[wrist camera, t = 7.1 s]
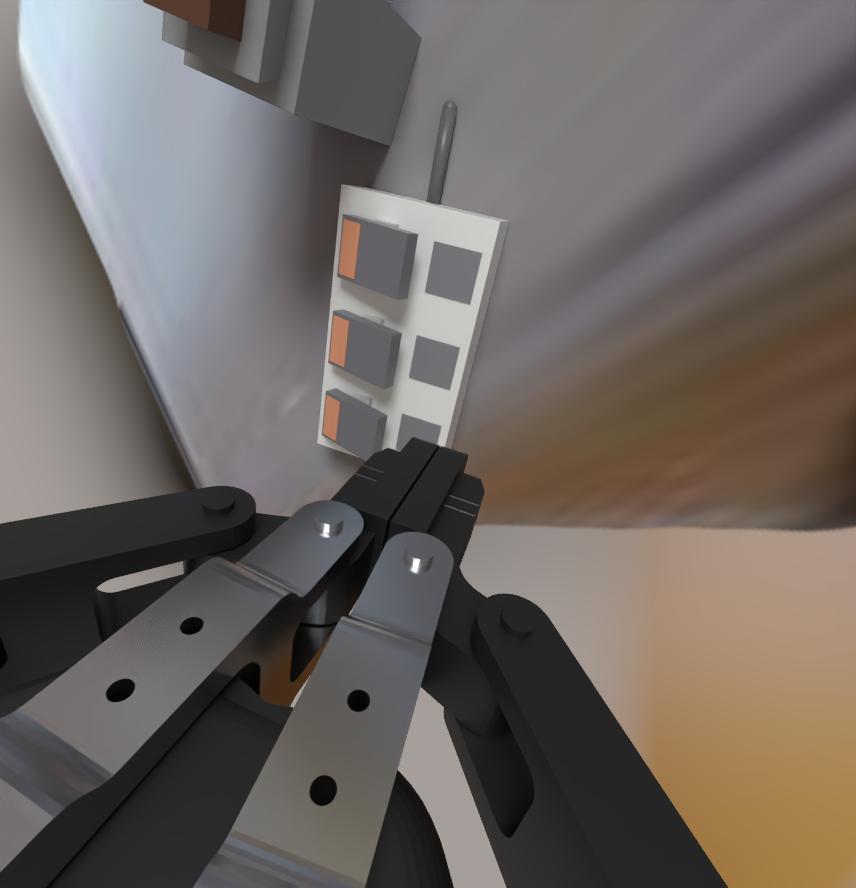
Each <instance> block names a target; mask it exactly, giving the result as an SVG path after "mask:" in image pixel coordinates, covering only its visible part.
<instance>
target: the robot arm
mask: <svg viewBox="0 0 856 888" xmlns="http://www.w3.org/2000/svg"><path fill="white" fill-rule="evenodd" d="M467 458H468V454H465V453H462V452H459V451H456V450H453V449H450V448H447V447H444V446H440V445H437V444H434V443H431V442H428V441H425V440H422V439H419V438H416V437H412V438H411V439H410V440H409V442H408V443H407V444H406V445H405V446H404V448H403V449H402V450H401V451H397V450H394V449H391V448H386V449H384V450H381V451H379V452H376V453H374V454H372V456H371V457H370V458H369V459H368V460H367V461H366V462H365V463H364V465H363V466H361V467H360V469H359V470H358V471H357V472H356V474H354V475H353V476H352V477H351V478H350V479H349V480H348V482H347V483H346V484H345V485H344V486H343V487H342V488H341V489H340V490H339V491H338V492H337V493H336V495H335V496H334V497H333V498H332V499H331V500H330V501H317V502H313V503H310V504H307V505H305V506H304V507H302V508H301V509H300V510H298V511H297V512H296V513H295V514H294V515H292V516H291V517H284V516H275V515H268V514H260V513H256V503H255V500H254V498H253V497H252V496H251V495H250V494H249V493H247V492H246V491H244V490H242V489H239V488H235V487H230V486H213V487H207V488H201V489H195V490H190V491H184V492H178V493H173V494H167V495H161V496H155V497H150V498H144V499H138V500H133V501H127V502H121V503H116V504H110V505H104V506H99V507H93V508H87V509H81V510H76V511H70V512H65V513H59V514H53V515H47V516H42V517H36V518H30V519H25V520H19V521H13V522H7V523H2V524H0V888H454V887H453V883H452V880H451V876H450V872H449V869H448V865H447V861H446V858H445V854H444V851H443V848H442V844H441V841H440V838H439V836H438V833H437V831H436V829H435V826H434V824H433V821H432V818H431V817H430V815H429V813H428V811H427V809H426V807H425V805H424V803H423V801H422V800H421V798H420V797H419V795H418V794H417V793H416V791H415V790H414V788H413V787H412V785H411V784H410V783H409V782H408V781H407V780H406V779H405V777H404V776H403V775H402V774H401V773H400V772H399V771H398V766H399V763H400V759H401V755H402V752H403V748H404V744H405V741H406V737H407V734H408V730H409V726H410V723H411V719H412V715H413V712H414V708H415V705H416V701H417V697H418V694H419V690H420V687H422V688H423V689H424V690H425V691H426V692H427V693H428V694H430V695H431V696H432V697H433V698H434V699H435V700H436V701H438V702H439V703H440V704H441V705H442V706H443V707H444V719H445V723H446V726H447V729H448V731H449V734H450V737H451V739H452V742H453V745H454V747H455V750H456V752H457V756H458V758H459V761H460V763H461V766H462V769H463V772H464V774H465V777H466V780H467V782H468V785H469V788H470V790H471V793H472V796H473V798H474V801H475V804H476V807H477V809H478V812H479V815H480V817H481V820H482V823H483V825H484V828H485V831H486V833H487V836H488V839H489V841H490V844H491V847H492V849H493V852H494V855H495V858H496V860H497V863H498V865H499V868H500V871H501V874H502V876H503V879H504V882H505V884H506V887H507V888H728V887H727V885H726V884H725V882H724V881H723V879H722V878H721V876H720V875H719V873H718V872H717V870H716V869H715V867H714V866H713V864H712V863H711V861H710V860H709V858H708V857H707V855H706V854H705V852H704V851H703V849H702V848H701V846H700V845H699V843H698V842H697V840H696V839H695V837H694V836H693V834H692V832H691V831H690V829H689V828H688V826H687V825H686V823H685V822H684V820H683V819H682V818H681V816H680V815H679V813H678V811H677V810H676V809H675V807H674V805H673V804H672V802H671V801H670V799H669V798H668V796H667V795H666V793H665V792H664V791H663V789H662V787H661V786H660V784H659V783H658V781H657V780H656V779H655V777H654V775H653V774H652V772H651V771H650V769H649V768H648V766H647V765H646V763H645V762H644V761H643V759H642V757H641V756H640V754H639V753H638V751H637V750H636V748H635V747H634V745H633V744H632V742H631V741H630V739H629V738H628V736H627V735H626V733H625V732H624V730H623V729H622V727H621V726H620V724H619V723H618V722H617V720H616V718H615V717H614V715H613V714H612V712H611V711H610V709H609V708H608V706H607V705H606V704H605V702H604V700H603V699H602V697H601V696H600V694H599V693H598V691H597V690H596V688H595V687H594V685H593V684H592V682H591V681H590V679H589V678H588V676H587V675H586V673H585V672H584V670H583V669H582V667H581V666H580V664H579V663H578V661H577V660H576V658H575V657H574V655H573V654H572V652H571V651H570V649H569V648H568V646H567V645H566V643H565V642H564V640H563V639H562V637H561V636H560V634H559V633H558V631H557V630H556V628H555V627H554V625H553V624H552V622H551V621H550V619H549V618H548V616H547V615H546V614H545V613H544V612H543V611H542V610H541V609H540V608H539V607H538V606H537V605H535V604H534V603H532V602H531V601H529V600H527V599H525V598H523V597H520V596H517V595H513V594H496V595H492V596H490V597H488V598H487V597H485V596H484V595H482V594H481V593H479V592H478V591H477V590H475V589H474V588H473V587H472V586H471V585H470V584H469V583H468V582H467V581H466V580H465V578H464V576H463V575H462V573H461V570H460V567H459V566H460V564H461V561H462V559H463V556H464V553H465V551H466V548H467V545H468V543H469V540H470V538H471V534H472V531H473V528H474V525H475V521H476V518H477V515H478V512H479V509H480V505H481V502H482V499H483V496H484V493H485V492H484V488H483V485H482V481H481V479H479V478H476V477H473V476H470V475H468V474H465V473H464V470H465V466H466V463H467ZM180 561H183V566H184V567H183V568H184V574H183V575H179V576H175V577H171V578H168V579H164V580H160V581H156V582H153V583H149V584H145V585H142V586H138V587H134V588H130V589H127V590H122V591H119V592H114V593H106V592H101V591H99V590H98V589H97V587H98V586H99V585H100V584H102V583H104V582H105V581H107V580H110V579H113V578H116V577H120V576H124V575H128V574H132V573H136V572H140V571H144V570H148V569H152V568H156V567H160V566H164V565H168V564H172V563H176V562H180ZM358 598H359V599H358ZM357 600H358V601H357ZM356 601H357V603H356ZM355 603H356V605H355ZM354 605H355V607H354V609H353V611H352V613H351V615H349V612H350V611H351V610H352V608H353V606H354ZM310 675H311V676H310ZM309 676H310V678H309ZM308 678H309V680H308V682H307V684H306V686H305V687H304V689H303V691H302V693H301V695H300V697H299V699H298V701H297V703H296V705H295V707H294V708H293V707H290V706H291V703H292V702H293V700H294V698H295V696H296V695H297V693H298V692H299V690H300V689H301V687H302V686H303V684H304V683H305V682H306V681H307V679H308Z"/></svg>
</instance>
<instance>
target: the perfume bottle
mask: <svg viewBox="0 0 856 888" xmlns="http://www.w3.org/2000/svg"><path fill="white" fill-rule="evenodd" d="M143 2H145V3H147V4H149V5H151V6H154V7H156V8H158V9H160V10H163V11H164V12H163V31H162V40H163V41H165V42H167V43H170V44H172V45H174V46H176V47H178V48H181V49H183V50H185V56H184V65H187V66H189V67H191V68H193V69H195V70H198V71H200V72H202V73H204V74H206V75H209V76H211V77H213V78H215V79H217V80H220V81H222V82H224V83H226V84H228V85H231V86H233V87H235V88H237V89H239V90H242V91H244V92H246V93H248V94H250V95H253V96H255V97H257V98H259V99H261V100H264V101H266V102H268V103H270V104H272V105H275V106H277V107H279V108H281V109H283V110H286V111H288V112H290V113H292V114H295V115H298V116H301V117H304V118H307V119H310V120H313V121H316V122H319V123H322V124H325V125H328V126H331V127H334V128H337V129H340V130H343V131H346V132H349V133H352V134H355V135H358V136H361V137H364V138H367V139H370V140H373V141H376V142H379V143H382V144H385V145H388V146H391V143H392V139H393V136H394V132H395V129H396V125H397V122H398V118H399V114H400V111H401V107H402V104H403V100H404V97H405V93H406V90H407V86H408V83H409V79H410V75H411V72H412V68H413V65H414V61H415V58H416V54H417V51H418V47H419V43H420V40H421V37H420V36H419V35H418V34H417V33H416V32H415V31H414V30H413V29H412V28H411V27H410V26H409V25H408V24H407V23H406V22H405V21H404V20H403V19H402V18H401V17H400V16H399V15H398V14H397V13H396V12H395V11H394V10H393V9H392V8H391V7H390V6H389V5H388V4H387V3H386V2H385V1H384V0H143Z"/></svg>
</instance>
